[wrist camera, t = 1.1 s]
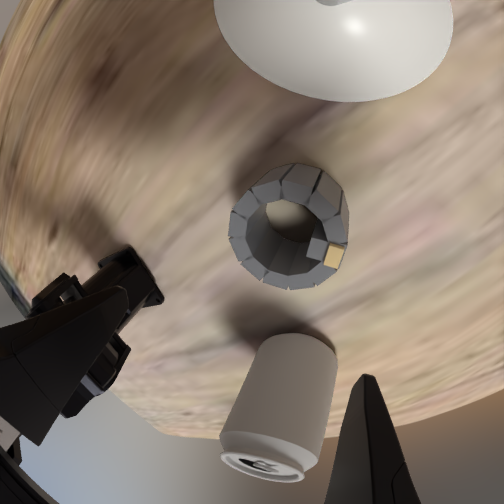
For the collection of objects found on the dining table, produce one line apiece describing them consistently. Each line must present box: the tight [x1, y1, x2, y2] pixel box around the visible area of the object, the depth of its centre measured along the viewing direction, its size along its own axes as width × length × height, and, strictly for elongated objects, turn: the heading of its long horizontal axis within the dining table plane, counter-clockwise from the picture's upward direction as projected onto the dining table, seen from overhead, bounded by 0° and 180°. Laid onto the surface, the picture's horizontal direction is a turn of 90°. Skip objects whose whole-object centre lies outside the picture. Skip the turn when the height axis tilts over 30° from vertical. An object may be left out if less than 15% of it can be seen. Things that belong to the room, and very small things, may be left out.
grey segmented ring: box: [228, 163, 349, 290], centre depth 17 cm, size 6×6×4 cm
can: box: [219, 333, 338, 482], centre depth 20 cm, size 8×8×12 cm
